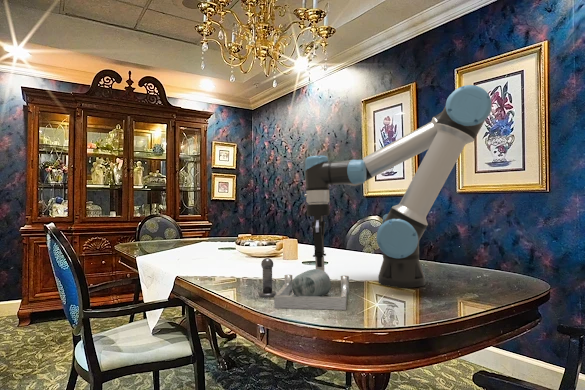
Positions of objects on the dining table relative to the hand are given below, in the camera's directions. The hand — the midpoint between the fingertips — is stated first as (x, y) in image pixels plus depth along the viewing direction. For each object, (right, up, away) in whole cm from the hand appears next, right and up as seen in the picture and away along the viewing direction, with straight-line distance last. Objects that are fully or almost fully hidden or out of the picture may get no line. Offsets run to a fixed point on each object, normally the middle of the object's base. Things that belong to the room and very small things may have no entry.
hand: (320, 276), depth 128 cm
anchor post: (-16, -3, -11) cm, 20 cm away
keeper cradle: (-3, -3, -17) cm, 17 cm away
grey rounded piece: (-3, -3, -15) cm, 16 cm away
